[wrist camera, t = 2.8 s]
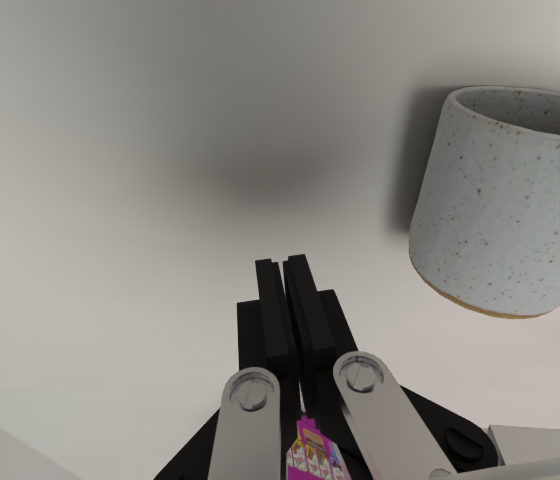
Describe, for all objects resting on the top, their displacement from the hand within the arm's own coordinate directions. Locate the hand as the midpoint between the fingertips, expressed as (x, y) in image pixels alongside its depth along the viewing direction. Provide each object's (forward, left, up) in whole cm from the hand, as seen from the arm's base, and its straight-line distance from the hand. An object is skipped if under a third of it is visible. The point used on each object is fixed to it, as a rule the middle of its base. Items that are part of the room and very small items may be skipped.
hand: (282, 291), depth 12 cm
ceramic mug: (-1, +12, -7) cm, 14 cm away
